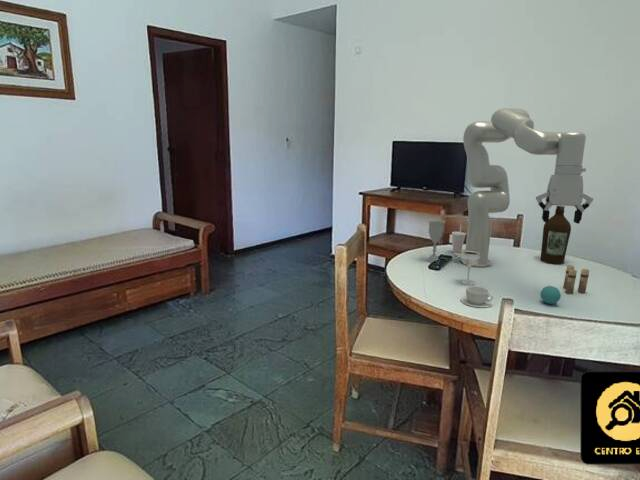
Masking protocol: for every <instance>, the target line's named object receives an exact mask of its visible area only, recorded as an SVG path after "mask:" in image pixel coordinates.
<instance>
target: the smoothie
mask: <svg viewBox="0 0 640 480" xmlns="http://www.w3.org/2000/svg"><path fill="white" fill-rule="evenodd" d="M451 236H452V237H451V239H452V240H451V241H452V242H451V243H452V253H453V254H454V253H461V252H462V250H463V247H464V242H465V238H466V237H467V232H462V223H460V225H459V231H452V232H451Z"/></svg>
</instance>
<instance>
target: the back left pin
mask: <svg viewBox="0 0 640 480" xmlns="http://www.w3.org/2000/svg"><path fill="white" fill-rule="evenodd" d="M569 269H573V270H575V266H574V265H566V269H565V276H564V282H563V289H564V290H566V285H567V280H568V274H569Z"/></svg>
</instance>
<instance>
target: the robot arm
mask: <svg viewBox="0 0 640 480" xmlns="http://www.w3.org/2000/svg"><path fill="white" fill-rule="evenodd" d="M490 117H491V118H490V121H489V120H488V121H487V120H486V121H484V120H481V121H480V120H479V121H473V122H472V123H469V124H468V126H466V128H465V130H464V132H463V136H462V137H463V140H462V141H463V146H464V147H463V148H464V151H465V153H466V158H467V170H468V171H467V172H468V179H469V180H468V181H469V184H470V186H472V187H473V188H478V189H486V188H488V189H490V190H477V191H474V192H472V193H471V194H469V196H468V199H467V211H468V216H467V217H468V220H467V221H468V222H467V230H466V241H465V249H464V250H475V251H478V252H480V254H479V256H480V260H479V262H478V263H477V264H475V265H472V266H471V267H475V268H476V267H477V268H486V267H490V266H491V265H492V261H491V260H490V259H488V258H489V251H490V242H491V235H492V233H491V232H492V227H493V226H492V219H491V217H490V216H489V214H494V213H495V214H497V213H503V212H505V211H507V210H508V209H509V206H510V202H511V201H510V200H511V199H510V197H511V196H510V187H509V179H508V177H509V176H508V173H507V171H506V169H505V168H504V167H503V166H501V165H498V164H496V165H494V164H490V158H489V157H490V156H489V153H488V150H487V149H486V148H485V146H484V145H483V143H496V144H497V143H503V142H505V141H508V140H509V139H513V141H514V143H515V145H516V146H517V147H518V148H520V149H521V150H523V151H524V152H527V153H529V154H531V155H535V156H536V155H537V156H540V155H541V156H543V155H544V156H545V155H546V156H547V155H548V156H553V155H554V156H556V158H555V159H556V160H555V167H554V174H551V175H550V178H549V181H548V185H547V189H546V192H544V193H542V194H539V195H538V196H536V197H535V200H536V202H537V204H538V206H539V207H540V208H541V209H542V214H541V215H542V216H541V220H542V221H543V222H544V223H545V222H546V223H548V221H549V219H550V208H552V207H553V206H564V207H565V206H566V207H568V206H569V207H575V208H576V210H575V211H574V216H573V223H575V224H580V222H581V221H582V217H583V212H584V211H585V210H586V209H588V208H589V207H590V206H591V204H592V203H593V201H594V198H593V197H591V196H589V195H587V194H585V193H584V178H583V175H582V173H585V172H586V171H587V168H586V167H583V161H584V154H585V153H584V152H585V145H586V137H587V136H586V133H583V132H578V131H577V132H576V131H575V132H574V131H571V132H566V131H565V132H560V131H559V132H557V131H538V130H536V129H534V127H535V124H534V121H533V119H531V117H530V114H529V113H528V111H527V110H525V109H523V108H511V107H510V108H507V107H506V108H505V107H504V108H500V109H497V110H496V111H494V112H493V113H492V115H491V116H490ZM543 199H545V200H544V201H545V203H544V202H543ZM583 199H584V200H585V202H584V203H583ZM582 203H583V204H582ZM452 255H453V258H457V259H460V263H462V264H464V263H463V262H462V260H461V255H462V251H461V253H453V254H452ZM464 265H466V264H464ZM466 266H467V265H466Z"/></svg>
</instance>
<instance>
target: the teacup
mask: <svg viewBox="0 0 640 480" xmlns="http://www.w3.org/2000/svg"><path fill="white" fill-rule="evenodd" d="M465 295H466V296H461V298H460V301H461V302H462V303H463V304H465V305H467V306H471V307H475V308H489V307H491V306H492V305H493V302H492V301H493V299H494V296H493V295H492V294H491V293H490V290H489V289H488V288H485V287H483V286H478V285H468V286H467V287H466V288H465ZM490 297H491V298H490ZM488 298H490V299H488Z"/></svg>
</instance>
